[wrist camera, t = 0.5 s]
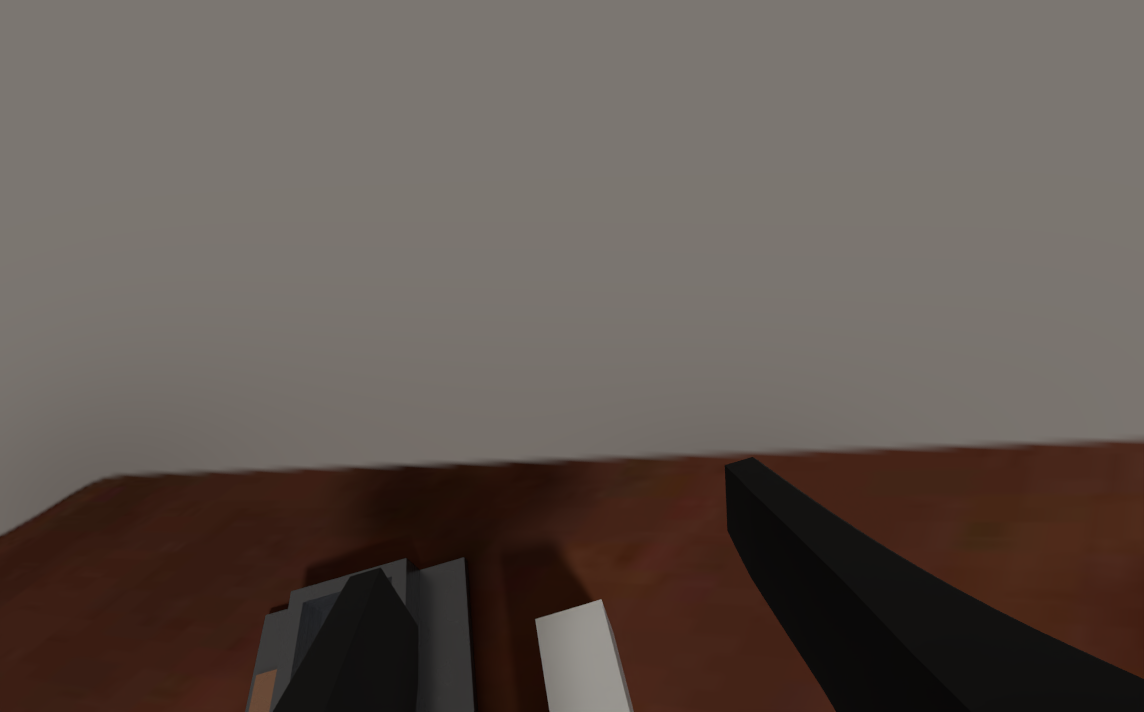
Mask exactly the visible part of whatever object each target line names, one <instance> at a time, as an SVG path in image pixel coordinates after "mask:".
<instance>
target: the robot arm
mask: <svg viewBox="0 0 1144 712" xmlns="http://www.w3.org/2000/svg"><path fill="white" fill-rule="evenodd" d="M725 480H726V504H727V528H728V533H729V535H730V537H731V539H732V541H733V543H734V545H735V547H736V549H737V551H738V553H739V555H740V557H741V559H742V561H743V563H744V565H745V567H746V569H747V571H748V572H749V574H750V576H751V578H752V580H753V581H754V583H755V584H756V586H757V588H758V589H759V591H760V592H761V594H762V596H763V597H764V599H765V600H766V602H767V603H768V605H769V606H770V608H771V610H772V611H773V613H774V614H775V616H776V617H777V619H778V620H779V622H780V624H781V625H782V627H783V628H784V630H785V631H786V633H787V634H788V636H789V638H790V639H791V641H792V642H793V644H794V645H795V647H796V648H797V650H798V651H799V653H800V655H801V656H802V658H803V659H804V661H805V662H806V664H807V665H808V667H809V668H810V670H811V672H812V673H813V675H814V676H815V678H816V679H817V681H818V682H819V684H820V685H821V687H822V689H823V690H824V692H825V694H826V695H827V697H828V699H829V700H830V702H831V704H832V705H833V707H834V709H835V710H836V712H1144V679H1142V678H1140V677H1138V676H1136V675H1133V674H1131V673H1129V672H1127V671H1125V670H1122V669H1120V668H1118V667H1116V666H1114V665H1112V664H1109V663H1107V662H1105V661H1103V660H1101V659H1099V658H1096V657H1094V656H1092V655H1090V654H1088V653H1086V652H1083V651H1081V650H1079V649H1077V648H1075V647H1073V646H1070V645H1068V644H1066V643H1064V642H1062V641H1060V640H1057V639H1055V638H1053V637H1051V636H1049V635H1047V634H1044V633H1042V632H1040V631H1038V630H1036V629H1034V628H1032V627H1030V626H1028V625H1026V624H1024V623H1022V622H1020V621H1018V620H1016V619H1014V618H1012V617H1010V616H1008V615H1006V614H1004V613H1002V612H1000V611H998V610H996V609H994V608H992V607H990V606H989V605H987V604H985V603H983V602H981V601H979V600H977V599H975V598H974V597H972V596H970V595H968V594H966V593H964V592H962V591H960V590H959V589H957V588H955V587H953V586H951V585H949V584H948V583H946V582H944V581H942V580H940V579H939V578H937V577H935V576H933V575H932V574H930V573H928V572H926V571H925V570H923V569H921V568H920V567H918V566H916V565H914V564H913V563H911V562H909V561H908V560H906V559H904V558H903V557H901V556H899V555H898V554H896V553H894V552H893V551H891V550H889V549H888V548H886V547H885V546H883V545H881V544H880V543H878V542H877V541H875V540H873V539H872V538H870V537H869V536H867V535H865V534H864V533H862V532H861V531H859V530H858V529H856V528H855V527H853V526H852V525H850V524H849V523H847V522H846V521H844V520H843V519H841V518H840V517H838V516H836V515H835V514H833V513H832V512H830V511H829V510H827V509H826V508H825V507H823V506H822V505H820V504H819V503H817V502H816V501H814V500H813V499H811V498H810V497H809V496H807V495H806V494H804V493H803V492H801V491H800V490H799V489H797V488H796V487H794V486H793V485H791V484H790V483H789V482H787V481H786V480H784V479H783V478H782V477H780V476H779V475H777V474H776V473H775V472H773V471H772V470H771V469H769V468H768V467H766V466H765V465H764V464H762V463H761V462H759V461H758V460H756V459H755V458H753V457H751V458H748V459H744V460H741V461H738V462H734V463H731V464H727V465H725ZM417 691H418V625H417V624H416V622H415V620H414V619H413V617H412V616H411V614H410V613H409V611H408V609H407V608H406V606H405V605H404V603H403V602H402V600H401V598H400V597H399V595H398V594H397V592H396V591H395V589H394V587H393V586H392V584H391V583H390V581H389V579H388V578H387V576H386V575H385V573H384V572H383V570H382V568H381V567H380V568H377V569H374V570H370V571H367V572H363V573H360V574H357V575H353V576H350V577H349V579H348V581H347V582H346V584H345V586H344V587H343V589H342V591H341V593H340V594H339V596H338V598H337V600H336V602H335V603H334V605H333V607H332V609H331V610H330V612H329V614H328V616H327V618H326V619H325V621H324V623H323V625H322V627H321V628H320V630H319V632H318V634H317V635H316V637H315V639H314V641H313V643H312V644H311V646H310V648H309V650H308V651H307V653H306V655H305V657H304V659H303V660H302V662H301V664H300V665H299V667H298V669H297V671H296V672H295V674H294V676H293V677H292V679H291V681H290V683H289V684H288V686H287V688H286V689H285V691H284V693H283V695H282V696H281V698H280V700H279V701H278V703H277V705H276V707H275V708H274V710H273V712H415V711H416V702H417Z"/></svg>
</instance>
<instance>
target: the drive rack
mask: <svg viewBox="0 0 1144 712" xmlns="http://www.w3.org/2000/svg"><path fill="white" fill-rule="evenodd" d="M380 567H381V568H382V570H383V572H384V573H385V575H386V576H387V578H388V579H389V581H390V583H391V584H392V586H393V587H394V589H395V591H396V592H397V594H398V595H399V597H400V598H401V600H402V602H403V603H404V605H405V606H406V608H407V609H408V611H409V613H410V614H411V616H412V617H413V619H414V620H415V622H416V624H417V625H418V691H417V702H416V711H415V712H478V709H477V694H476V680H475V665H474V651H473V636H472V622H471V607H470V593H469V578H468V564H467V560H466V559H465V558H464V557H463V558H460V559H456V560H453V561H449V562H446V563H443V564H439V565H436V566H432V567H429V568H426V569H422V570H419V569H418V568H417V567H416V566H415V565H414V564H413V563H412V562H411V561H409V560H408V559H407V558H404V559H401V560H397V561H394V562H391V563H387V564H384V565H380V566H377V567H373V568H370V569H367V570H363V571H360V572H356V573H353V574H349V575H346V576H343V577H339V578H336V579H332V580H329V581H325V582H322V583H319V584H315V585H312V586H308V587H305V588H301V589H298V590H294V591H291V596H290V601H289V606H288V609H285V610H282V611H279V612H275V613H272V614H268V615H266V617H265V621H264V626H263V631H262V635H261V640H260V645H259V650H258V654H257V659H256V664H255V668H254V673H253V678H252V683H251V687H250V692H249V697H248V701H247V706H246V711H245V712H273V710H274V708H275V707H276V705H277V703H278V701H279V700H280V698H281V696H282V695H283V693H284V691H285V689H286V688H287V686H288V684H289V683H290V681H291V679H292V677H293V676H294V674H295V672H296V671H297V669H298V667H299V665H300V664H301V662H302V660H303V659H304V657H305V655H306V653H307V651H308V650H309V648H310V646H311V644H312V643H313V641H314V639H315V637H316V635H317V634H318V632H319V630H320V628H321V627H322V625H323V623H324V621H325V619H326V618H327V616H328V614H329V612H330V610H331V609H332V607H333V605H334V603H335V602H336V600H337V598H338V596H339V594H340V593H341V591H342V589H343V587H344V586H345V584H346V582H347V581H348V579H349V577H350V576H353V575H357V574H360V573H363V572H367V571H370V570H374V569H377V568H380Z"/></svg>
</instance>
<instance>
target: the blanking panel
mask: <svg viewBox="0 0 1144 712" xmlns="http://www.w3.org/2000/svg"><path fill="white" fill-rule="evenodd" d="M535 621H536V628H537V634H538V641H539V647H540V654H541V660H542V666H543V673H544V679H545V686H546V692H547V699H548V705H549V711H550V712H634V711H633V707H632V703H631V699H630V695H629V692H628V688H627V684H626V680H625V676H624V672H623V668H622V664H621V661H620V657H619V653H618V649H617V645H616V641H615V637H614V633H613V630H612V628H611V625H610V622H609V619H608V617H607V614H606V611H605V608H604V605H603V603H602V600H598V601H594V602H591V603H588V604H584V605H581V606H578V607H574V608H571V609H568V610H564V611H561V612H558V613H554V614H551V615H548V616H544V617H541V618H538V619H535Z"/></svg>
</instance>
